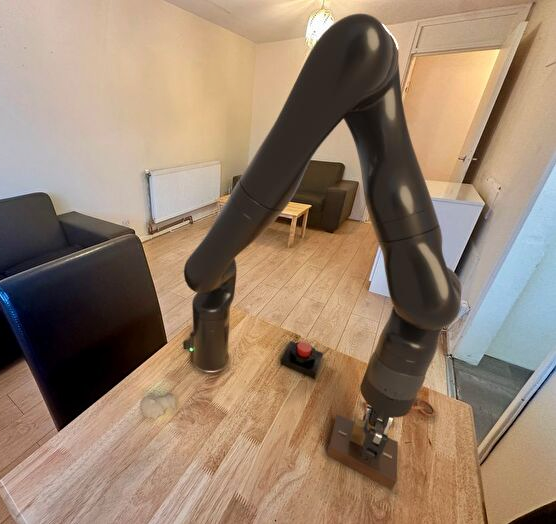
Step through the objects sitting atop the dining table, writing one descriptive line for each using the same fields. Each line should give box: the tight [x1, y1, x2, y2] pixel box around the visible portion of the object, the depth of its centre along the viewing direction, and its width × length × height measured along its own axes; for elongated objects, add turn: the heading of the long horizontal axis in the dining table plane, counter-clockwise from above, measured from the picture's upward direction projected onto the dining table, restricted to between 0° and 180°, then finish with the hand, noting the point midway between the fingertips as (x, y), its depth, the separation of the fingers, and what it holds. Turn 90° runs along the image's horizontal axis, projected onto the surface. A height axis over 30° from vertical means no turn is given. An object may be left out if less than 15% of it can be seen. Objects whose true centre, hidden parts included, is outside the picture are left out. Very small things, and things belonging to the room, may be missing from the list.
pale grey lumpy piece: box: [139, 392, 177, 420], centre depth 63 cm, size 4×8×5 cm
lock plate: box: [326, 413, 399, 491], centre depth 55 cm, size 11×8×3 cm
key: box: [363, 399, 436, 418], centre depth 64 cm, size 6×1×15 cm
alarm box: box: [280, 340, 324, 380], centre depth 76 cm, size 9×8×4 cm
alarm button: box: [296, 341, 312, 357], centre depth 75 cm, size 4×4×2 cm
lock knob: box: [350, 417, 383, 446], centre depth 53 cm, size 5×2×5 cm, turn 58°
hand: (366, 439), depth 54 cm, fingers open, 7 cm apart
